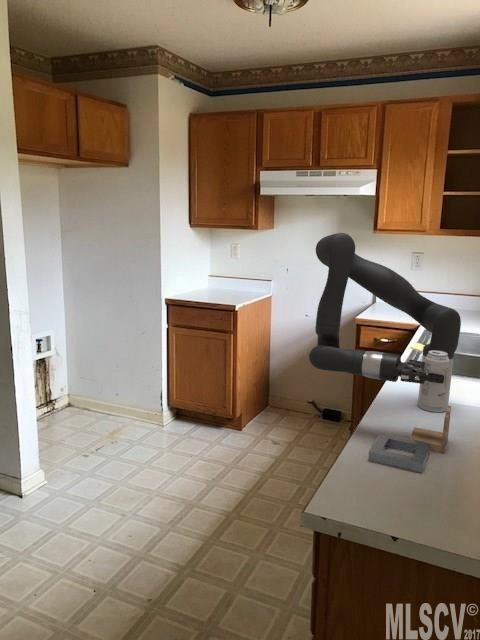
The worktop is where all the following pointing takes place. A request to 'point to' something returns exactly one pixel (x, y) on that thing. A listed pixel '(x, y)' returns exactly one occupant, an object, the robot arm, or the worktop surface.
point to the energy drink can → (434, 391)
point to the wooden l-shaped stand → (434, 435)
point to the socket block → (396, 459)
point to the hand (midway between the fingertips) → (445, 375)
